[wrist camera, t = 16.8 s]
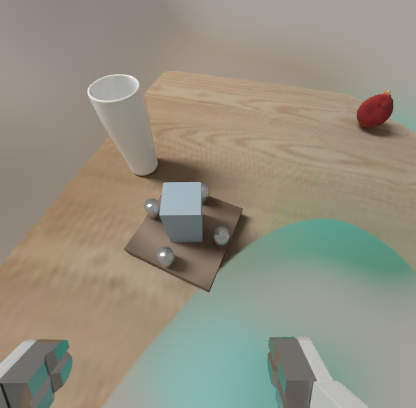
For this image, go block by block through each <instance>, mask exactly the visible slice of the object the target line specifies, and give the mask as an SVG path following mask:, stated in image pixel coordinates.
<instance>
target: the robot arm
mask: <svg viewBox="0 0 416 408" xmlns="http://www.w3.org/2000/svg"><path fill="white" fill-rule="evenodd" d="M268 345H269V348H270V352H269V353H268V370H269V375H270V379H271V383H272V385H273V386H274V387H275V388H276V401H277V405H278V408H369V407H368V406H367V405H366V404H365V403H363V402H362V401H361V400H360V399H358V398H357V397H356V396H355V395H354V394H353V393H352V392H350V391H349V390H348V389H347V388H346V387H344V386H343V385H342V384H341V383H340V382H338V381H334V380H333V379H332V377H331V375H330V374H329V372H328V370H327V368H326V366H325V365H324V363H323V361H322V359H321V357H320V356H319V354H318V352H317V350H316V348H315V347H314V345H313V343H312V341H311V340H310V339H309V338H308V337H271V338H270V339H269V344H268ZM68 348H69V344H68V340H48V339H27V340H26V341H24V342H22V343H21V344H20V345H19V346H18V347H17V348H16V349H15V350H14V351H13V352H12V353H11V354H10V355H9V356H8V357H7V358H6V359H5V360H4V361H3V362H2V363H1V364H0V408H49V407H50V406H51V404H52V403H53V401H54V395H55V392H56V391H57V390H58V389H60V388H61V387H62V386H63V385H64V383H65V382H66V380H67V378H68V377H69V374H70V371H71V368H72V356H71V355H70V354H69V353H68V352H67V350H68Z"/></svg>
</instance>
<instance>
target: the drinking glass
mask: <svg viewBox="0 0 416 408" xmlns="http://www.w3.org/2000/svg"><path fill="white" fill-rule="evenodd" d="M88 96H89V98H90V100H91V102H92V104H93V107H94V109H95V111H96V113H97V115H98V117H99V119H100V120H101V122H102V124H103V126H104V127H105V129H106V130H107V132H108V134H109V135H110V137H111V138H112V140H113V141H114V143H115V145H116V146H117V148H118V149H119V151H120V152H121V154H122V156H123V157H124V159H125V160H126V162H127V164H128V166H129V168H130V170H131V171H132V172H133V173H134V174H137V175H148V174H150V173H152V172H153V171H155V169H156V168H157V165H158V160H157V157H156V153H155V148H154V142H153V137H152V131H151V126H150V120H149V115H148V110H147V106H146V103H145V99H144V96H143V93H142V90H141V87H140V84H139V82H138V80H136V79H135V78H134V77H132V76H128V75H122V74H121V75H120V74H118V75H109V76H106V77H102V78H100V79H98V80H96V81H94V82H93V83H92V84H91V85H90V86H89V88H88Z"/></svg>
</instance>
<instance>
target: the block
mask: <svg viewBox="0 0 416 408" xmlns="http://www.w3.org/2000/svg"><path fill="white" fill-rule="evenodd" d="M159 216H160V218H161V220H162V223H163V225H164V227H165V230H166V232H167V234H168V237H169V239H170V241H171V242H203V214H202V192H201V182H164V183H163V191H162V198H161V206H160V214H159Z"/></svg>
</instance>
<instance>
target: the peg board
mask: <svg viewBox="0 0 416 408" xmlns="http://www.w3.org/2000/svg"><path fill="white" fill-rule="evenodd" d="M201 192H202V214H203V242H171V241H170V239H169V237H168V234H167V232H166V230H165V227H164V225H163V223H162V220H161V218H160V216H159V214H160V206H161V198H162V195H161V196H160V198H159V199H158V201H157V200H156V199H148V200H146V201H145V203H144V208H145V210H146V212H147V214H148V215H147V217H146V218H145V219H144V221H143V222H142V224H141V225H140V227H139V228H138V230H137V231H136V233H135V234H134V235H133V237H132V238H131V240H130V241H129V243H128V244H127V246H126V247H125V248H124V250H125V251H126V252H128V253H129V254H130V255H133V256H135V257H137V258H139V259H141V260H143V261H145V262H147V263H149V264H151V265H153V266H155V267H157V268H159V269H161V270H164V271H166V272H168V273H170V274H172V275H174V276H176V277H178V278H180V279H182V280H184V281H186V282H188V283H190V284H192V285H194V286H197V287H199V288H201V289H203V290H205V291H207V292H210V289H211V287H212V284H213V282H214V279H215V277H216V274H217V272H218V270H219V267H220V265H221V262H222V260H223V257H224V255H225V253H226V250H227V248H228V245H229V243H230V240H231V238H232V236H233V233H234V231H235V228H236V226H237V223H238V221H239V218H240V216H241V213H242V210H243V209H242V208H240V207H237V206H234V205H231V204H229V203H226V202H223V201H221V200H218V199H215V198H213V197H210V196H208V195H209V188H208V186H207V185H206V184H201Z"/></svg>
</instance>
